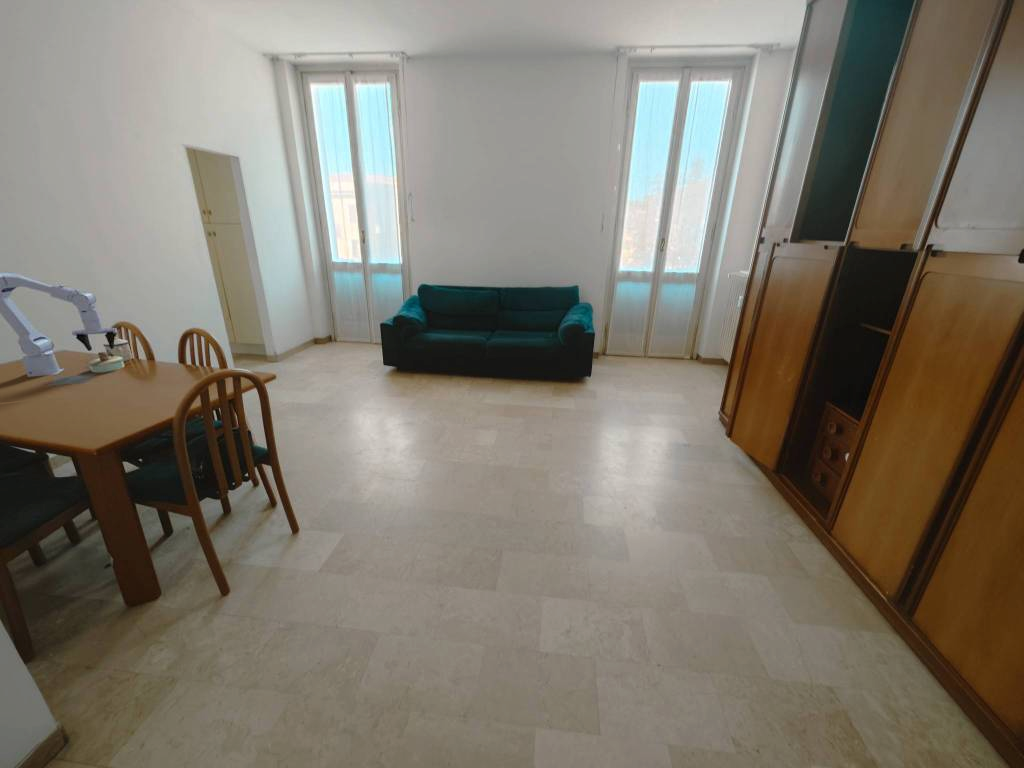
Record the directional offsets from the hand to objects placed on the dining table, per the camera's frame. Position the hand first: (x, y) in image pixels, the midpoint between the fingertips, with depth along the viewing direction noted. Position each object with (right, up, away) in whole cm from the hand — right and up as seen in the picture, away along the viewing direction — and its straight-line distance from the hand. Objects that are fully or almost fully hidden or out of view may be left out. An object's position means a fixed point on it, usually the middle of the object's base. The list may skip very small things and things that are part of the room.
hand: (101, 349), depth 183 cm
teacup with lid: (-6, -4, +16) cm, 18 cm away
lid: (0, -6, +2) cm, 6 cm away
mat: (-1, -15, -11) cm, 18 cm away
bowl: (0, -9, +4) cm, 10 cm away
